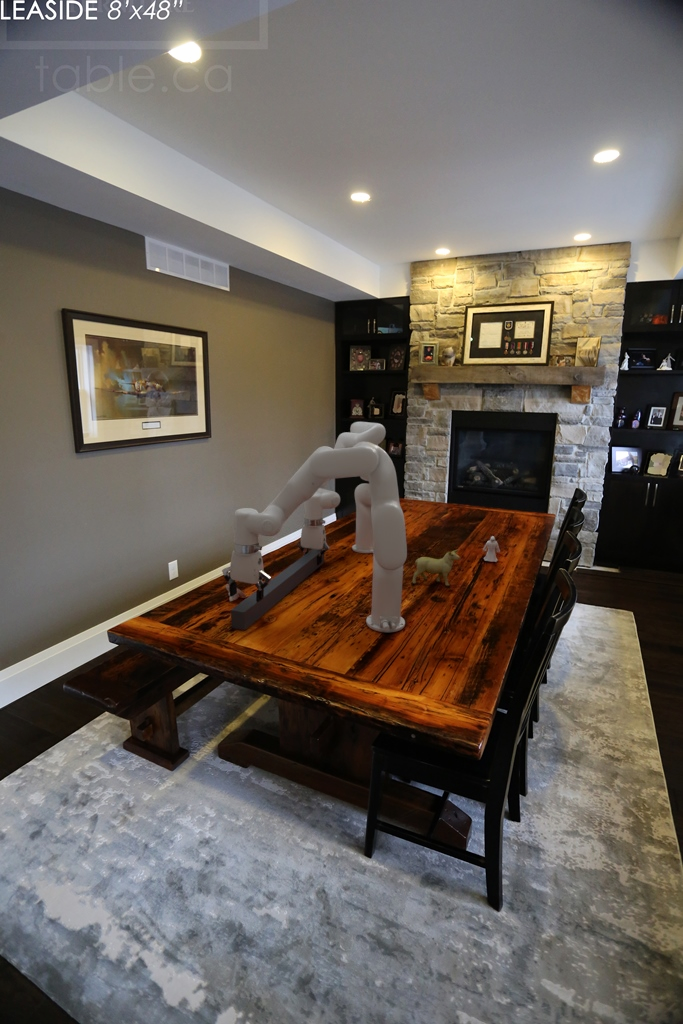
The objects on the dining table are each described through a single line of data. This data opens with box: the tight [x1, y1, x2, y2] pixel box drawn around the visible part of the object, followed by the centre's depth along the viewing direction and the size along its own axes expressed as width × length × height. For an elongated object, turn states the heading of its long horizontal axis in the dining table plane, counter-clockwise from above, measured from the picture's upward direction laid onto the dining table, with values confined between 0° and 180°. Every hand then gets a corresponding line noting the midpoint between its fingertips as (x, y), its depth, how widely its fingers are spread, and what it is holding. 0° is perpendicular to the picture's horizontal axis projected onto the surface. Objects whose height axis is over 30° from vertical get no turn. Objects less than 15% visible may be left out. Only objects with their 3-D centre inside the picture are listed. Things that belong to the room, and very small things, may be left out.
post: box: [230, 548, 325, 631], centre depth 188 cm, size 68×5×6 cm, turn 160°
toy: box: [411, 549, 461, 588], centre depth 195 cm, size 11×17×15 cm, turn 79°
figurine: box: [482, 535, 501, 563], centre depth 223 cm, size 8×8×12 cm
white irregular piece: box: [224, 584, 247, 602], centre depth 178 cm, size 8×5×8 cm
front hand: (246, 597), depth 162 cm, fingers open, 9 cm apart
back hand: (313, 562), depth 213 cm, fingers closed on post, 4 cm apart
